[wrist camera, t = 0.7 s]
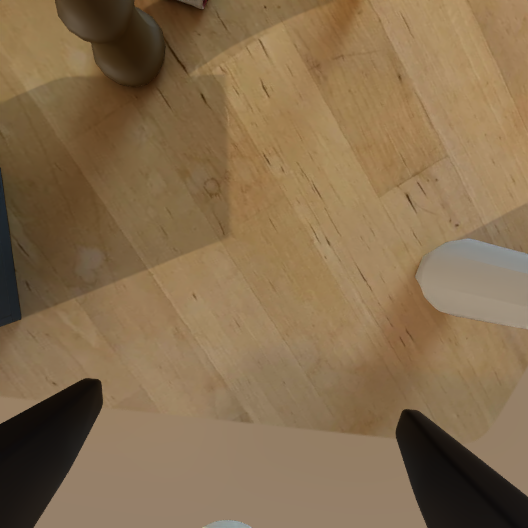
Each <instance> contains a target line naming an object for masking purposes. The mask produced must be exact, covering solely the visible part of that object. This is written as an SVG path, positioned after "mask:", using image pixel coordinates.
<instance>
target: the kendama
mask: <svg viewBox="0 0 528 528" xmlns="http://www.w3.org/2000/svg"><path fill="white" fill-rule="evenodd" d="M134 1H135V0H55V3H56V8H57V12H58V16H59V18H60V19H61V20H62V22H63V23H64V24H65V26H66V27H67V28H68V30H69V31H70V32H72V33H74V34H75V35H77V36H78V37H80V38H81V39H83V40H85V41H88V42H91V44H92V50H93V54H94V59H95V62H96V64H97V65H98V67H99V68H100V69H101V70H102V72H103V73H104V74H105V75H106V76H107V77H109V78H110V79H112V80H114V81H115V82H117V83H119V84H121V85H126V86H131V87H136V86H141V85H146V84H148V83H149V82H150V81H151V80H152V79H153V78H154V77H156V76H157V74H158V72H159V70H160V68H161V66H162V64H163V61H164V54H165V42H164V37H163V32H162V30H161V28H160V27H159V25H158V24H157V23H156V21H155V20H154V19H153V17H151V16H150V15H148V14H147V13H145V12H144V11H142V10H140V9H139V8H137V7H135V6H134Z"/></svg>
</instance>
